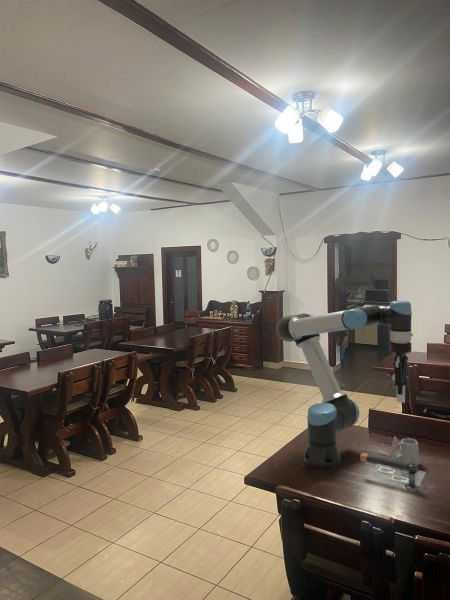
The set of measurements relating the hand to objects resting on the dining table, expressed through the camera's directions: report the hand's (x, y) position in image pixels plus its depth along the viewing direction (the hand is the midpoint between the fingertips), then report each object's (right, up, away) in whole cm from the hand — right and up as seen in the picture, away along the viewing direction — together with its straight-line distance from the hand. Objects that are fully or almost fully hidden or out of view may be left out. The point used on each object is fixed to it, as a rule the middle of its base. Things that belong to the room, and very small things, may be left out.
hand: (400, 401), depth 175 cm
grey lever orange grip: (-7, -22, -6) cm, 24 cm away
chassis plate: (-2, -29, -1) cm, 29 cm away
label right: (-2, -28, -5) cm, 29 cm away
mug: (+5, -28, +9) cm, 30 cm away
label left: (-5, -28, +2) cm, 28 cm away
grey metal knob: (0, -29, -11) cm, 31 cm away
